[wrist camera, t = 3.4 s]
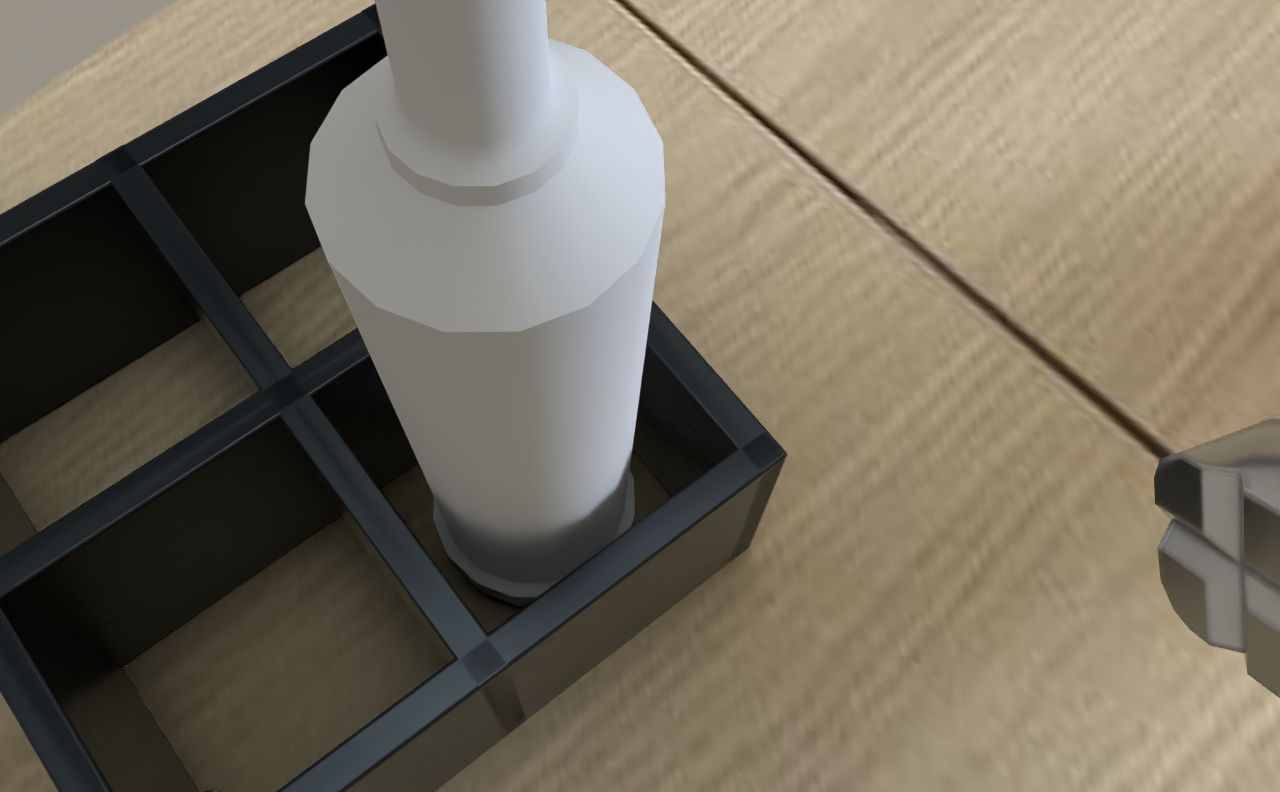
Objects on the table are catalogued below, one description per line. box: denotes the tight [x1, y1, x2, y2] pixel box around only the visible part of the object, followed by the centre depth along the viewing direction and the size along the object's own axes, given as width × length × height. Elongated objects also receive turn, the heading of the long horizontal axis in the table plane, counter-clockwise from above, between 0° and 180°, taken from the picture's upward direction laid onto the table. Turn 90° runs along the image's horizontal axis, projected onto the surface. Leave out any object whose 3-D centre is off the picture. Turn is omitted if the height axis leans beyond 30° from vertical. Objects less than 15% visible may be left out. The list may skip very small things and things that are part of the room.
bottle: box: [305, 0, 665, 606], centre depth 21 cm, size 5×5×25 cm
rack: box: [0, 3, 787, 792], centre depth 30 cm, size 15×15×7 cm
